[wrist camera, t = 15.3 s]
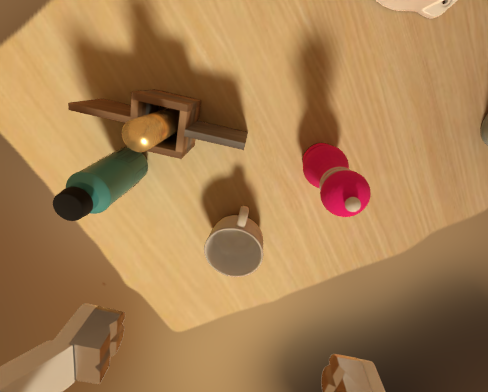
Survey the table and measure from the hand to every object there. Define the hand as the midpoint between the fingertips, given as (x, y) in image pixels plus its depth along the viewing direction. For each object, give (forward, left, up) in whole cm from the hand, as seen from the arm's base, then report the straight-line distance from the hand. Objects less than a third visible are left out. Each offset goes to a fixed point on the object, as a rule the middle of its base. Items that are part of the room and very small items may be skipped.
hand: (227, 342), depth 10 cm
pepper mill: (-8, +10, -41) cm, 43 cm away
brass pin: (+10, -10, -41) cm, 43 cm away
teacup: (+12, +14, -41) cm, 45 cm away
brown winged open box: (+10, -10, -41) cm, 43 cm away
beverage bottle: (+21, -8, -41) cm, 47 cm away
